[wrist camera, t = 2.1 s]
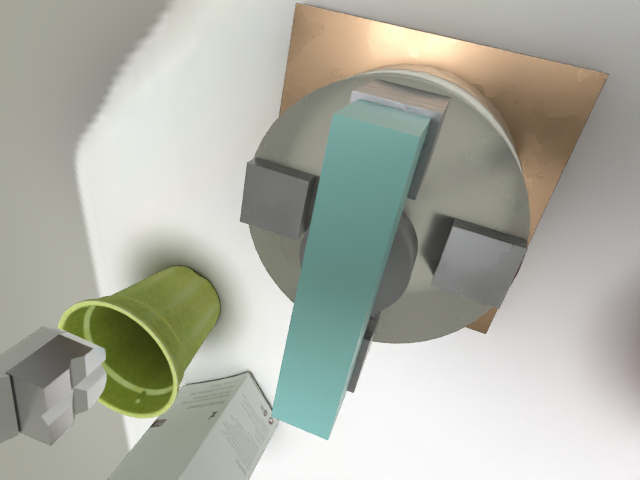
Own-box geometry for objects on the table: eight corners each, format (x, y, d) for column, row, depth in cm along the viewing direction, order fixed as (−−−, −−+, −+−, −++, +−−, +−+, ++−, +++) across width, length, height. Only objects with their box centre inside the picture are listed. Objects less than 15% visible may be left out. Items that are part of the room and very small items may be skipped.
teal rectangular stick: (465, 115, 16) (458, 147, 12) (378, 366, 22) (352, 450, 17) (346, 84, 17) (299, 104, 12) (293, 333, 22) (248, 406, 18)
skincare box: (250, 369, 39) (134, 538, 26) (283, 423, 40) (188, 609, 27) (180, 385, 42) (49, 539, 30) (212, 434, 44) (101, 601, 31)
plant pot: (122, 255, 38) (33, 311, 31) (212, 235, 34) (135, 293, 27) (168, 348, 41) (97, 419, 33) (256, 339, 37) (198, 417, 30)
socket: (602, 72, 22) (704, 109, 12) (485, 323, 30) (486, 479, 20) (303, 4, 26) (180, -13, 15) (265, 247, 33) (165, 346, 23)
